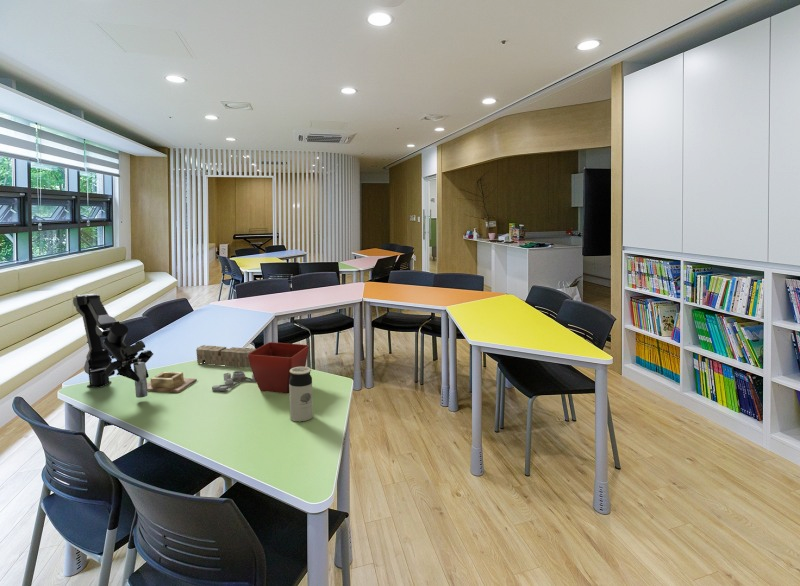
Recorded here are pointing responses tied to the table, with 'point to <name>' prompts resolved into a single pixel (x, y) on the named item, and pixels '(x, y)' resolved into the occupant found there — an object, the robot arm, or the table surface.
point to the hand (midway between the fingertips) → (143, 379)
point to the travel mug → (300, 394)
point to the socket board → (169, 382)
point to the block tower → (224, 356)
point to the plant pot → (276, 365)
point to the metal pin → (142, 384)
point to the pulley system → (229, 381)
